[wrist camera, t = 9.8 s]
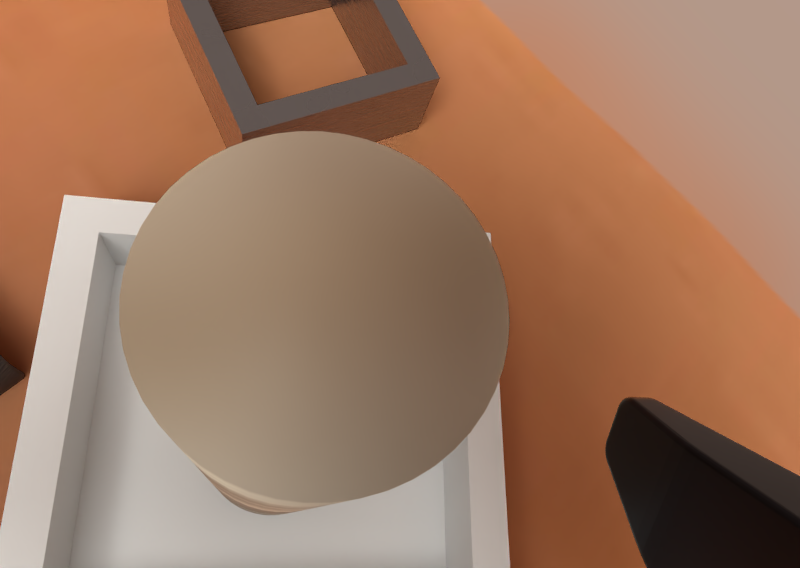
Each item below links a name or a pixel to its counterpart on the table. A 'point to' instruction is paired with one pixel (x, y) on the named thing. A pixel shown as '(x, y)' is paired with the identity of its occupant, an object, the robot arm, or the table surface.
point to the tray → (177, 475)
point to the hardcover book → (8, 375)
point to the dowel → (313, 319)
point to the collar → (321, 108)
